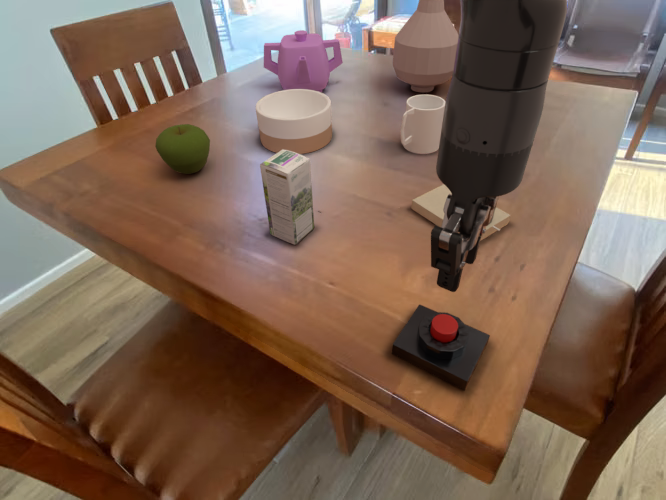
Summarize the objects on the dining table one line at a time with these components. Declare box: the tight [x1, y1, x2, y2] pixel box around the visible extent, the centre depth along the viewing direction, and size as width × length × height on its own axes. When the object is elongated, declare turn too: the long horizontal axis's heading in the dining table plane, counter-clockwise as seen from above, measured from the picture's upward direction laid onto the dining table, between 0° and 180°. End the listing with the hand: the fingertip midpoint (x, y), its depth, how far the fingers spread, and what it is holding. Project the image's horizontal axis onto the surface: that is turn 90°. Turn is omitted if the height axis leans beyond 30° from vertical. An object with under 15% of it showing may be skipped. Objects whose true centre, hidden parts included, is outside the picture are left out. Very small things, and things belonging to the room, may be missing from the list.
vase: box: [392, 0, 459, 93], centre depth 113 cm, size 18×18×30 cm
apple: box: [154, 123, 211, 175], centre depth 90 cm, size 11×10×10 cm
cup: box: [399, 94, 446, 155], centre depth 94 cm, size 8×12×10 cm
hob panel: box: [411, 183, 512, 242], centre depth 77 cm, size 16×10×2 cm, turn 36°
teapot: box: [263, 29, 344, 93], centre depth 122 cm, size 19×18×15 cm
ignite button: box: [430, 314, 458, 343], centre depth 54 cm, size 3×3×2 cm
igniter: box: [391, 304, 491, 391], centre depth 56 cm, size 10×8×4 cm
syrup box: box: [259, 149, 315, 246], centre depth 72 cm, size 6×6×14 cm
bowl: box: [255, 89, 333, 155], centre depth 101 cm, size 17×17×8 cm
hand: (456, 272), depth 48 cm, fingers open, 4 cm apart
